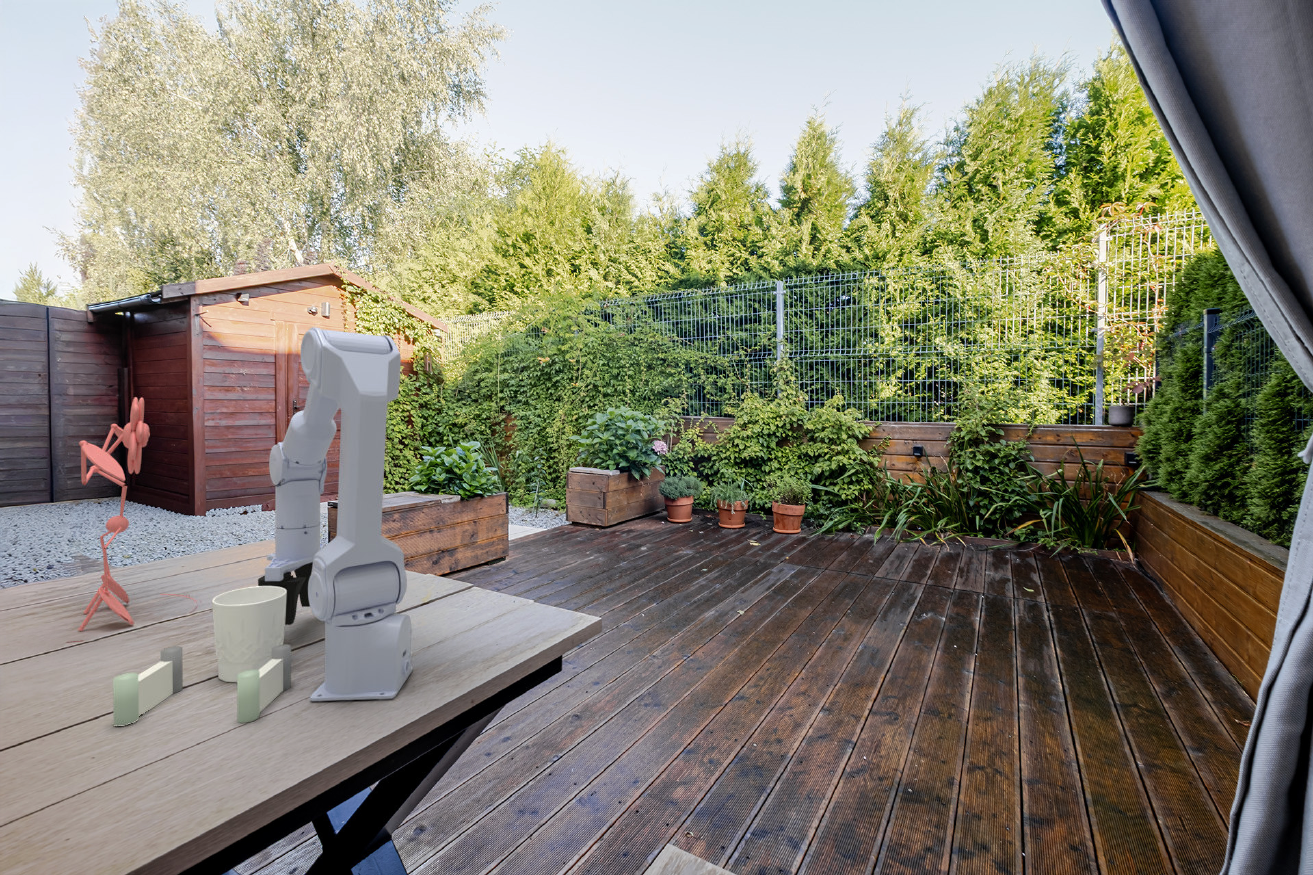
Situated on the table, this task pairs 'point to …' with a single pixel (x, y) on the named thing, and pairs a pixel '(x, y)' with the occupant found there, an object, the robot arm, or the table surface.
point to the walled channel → (167, 679)
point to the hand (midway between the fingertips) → (297, 614)
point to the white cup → (247, 628)
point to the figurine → (134, 440)
